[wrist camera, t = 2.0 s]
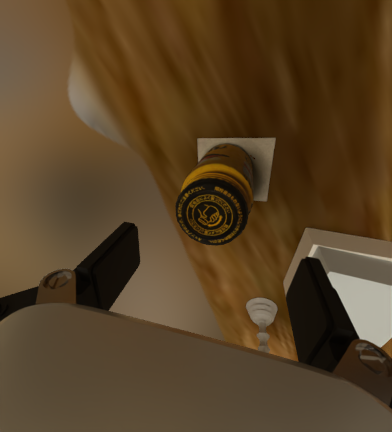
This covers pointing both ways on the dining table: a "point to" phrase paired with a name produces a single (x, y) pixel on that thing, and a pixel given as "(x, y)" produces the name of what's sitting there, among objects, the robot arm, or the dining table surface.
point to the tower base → (338, 242)
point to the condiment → (224, 187)
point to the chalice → (262, 318)
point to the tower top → (362, 291)
